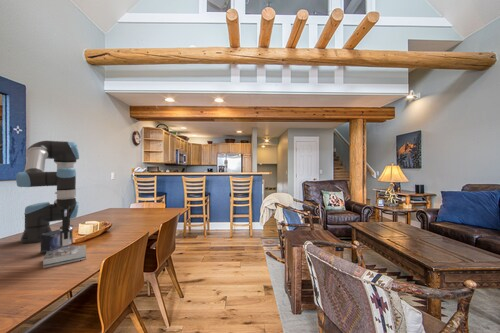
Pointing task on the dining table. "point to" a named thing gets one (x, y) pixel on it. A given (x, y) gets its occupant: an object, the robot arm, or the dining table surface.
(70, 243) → the lens
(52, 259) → the grey piece
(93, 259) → the dining table surface
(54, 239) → the small box
